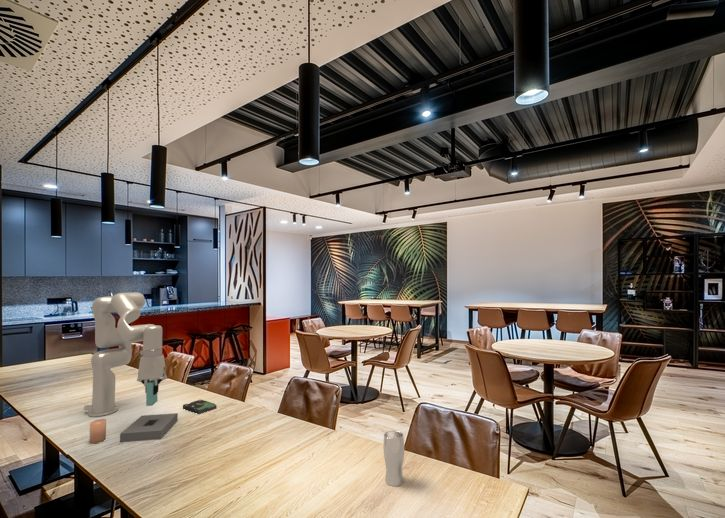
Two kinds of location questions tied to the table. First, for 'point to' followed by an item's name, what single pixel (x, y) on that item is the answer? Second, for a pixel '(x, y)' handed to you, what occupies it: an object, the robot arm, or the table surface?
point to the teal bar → (150, 394)
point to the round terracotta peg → (97, 431)
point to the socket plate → (149, 427)
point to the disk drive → (199, 406)
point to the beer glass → (394, 457)
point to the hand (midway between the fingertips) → (151, 393)
